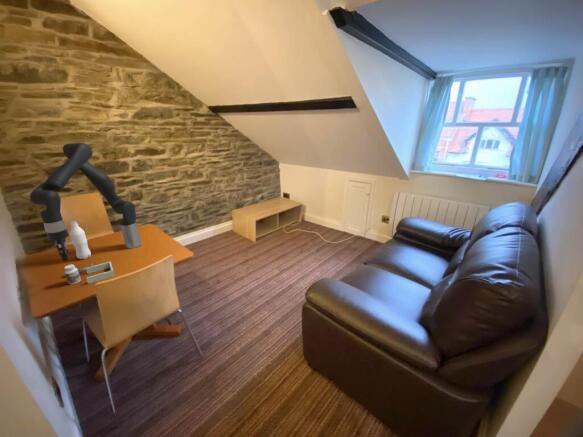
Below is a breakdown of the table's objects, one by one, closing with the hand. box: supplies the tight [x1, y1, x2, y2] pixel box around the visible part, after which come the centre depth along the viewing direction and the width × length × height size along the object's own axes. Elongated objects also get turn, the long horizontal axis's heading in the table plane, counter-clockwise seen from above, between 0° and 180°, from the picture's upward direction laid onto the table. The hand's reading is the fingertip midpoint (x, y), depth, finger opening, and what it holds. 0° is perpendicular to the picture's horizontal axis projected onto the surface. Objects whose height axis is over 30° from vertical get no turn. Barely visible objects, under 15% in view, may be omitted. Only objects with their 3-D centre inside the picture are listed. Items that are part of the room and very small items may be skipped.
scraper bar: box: [64, 262, 95, 279], centre depth 139 cm, size 13×6×3 cm, turn 130°
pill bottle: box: [64, 263, 82, 285], centre depth 130 cm, size 5×5×10 cm
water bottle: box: [69, 220, 92, 260], centre depth 151 cm, size 7×7×25 cm
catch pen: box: [85, 261, 116, 284], centre depth 138 cm, size 12×13×4 cm
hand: (66, 257), depth 126 cm, fingers open, 8 cm apart
